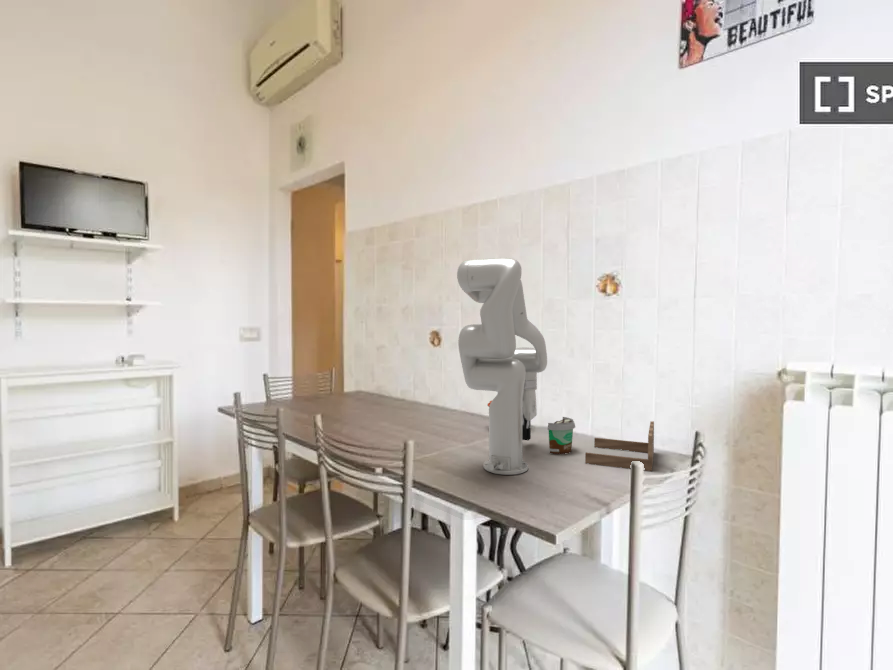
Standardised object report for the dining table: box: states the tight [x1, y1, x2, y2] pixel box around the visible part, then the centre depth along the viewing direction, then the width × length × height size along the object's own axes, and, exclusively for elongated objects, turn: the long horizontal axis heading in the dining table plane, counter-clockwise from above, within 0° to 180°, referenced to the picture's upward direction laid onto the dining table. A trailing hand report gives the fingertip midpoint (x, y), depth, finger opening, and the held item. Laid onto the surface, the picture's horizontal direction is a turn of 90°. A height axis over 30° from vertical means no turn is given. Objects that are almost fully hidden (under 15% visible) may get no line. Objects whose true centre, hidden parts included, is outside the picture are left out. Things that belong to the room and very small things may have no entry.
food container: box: [547, 416, 576, 455], centre depth 151 cm, size 12×6×10 cm, turn 143°
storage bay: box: [584, 420, 655, 472], centre depth 144 cm, size 20×18×10 cm
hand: (525, 439), depth 157 cm, fingers closed
